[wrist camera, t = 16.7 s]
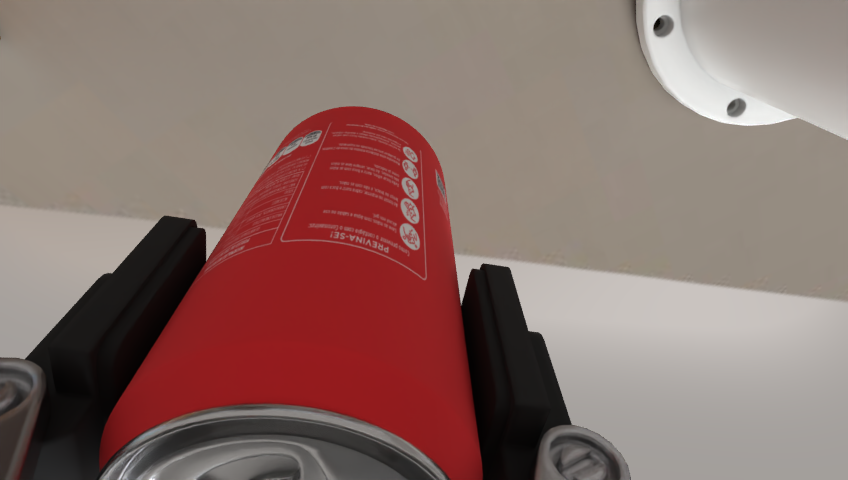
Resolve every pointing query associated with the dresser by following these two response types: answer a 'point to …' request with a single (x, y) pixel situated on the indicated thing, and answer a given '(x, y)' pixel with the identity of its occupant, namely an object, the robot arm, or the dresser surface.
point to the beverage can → (315, 328)
